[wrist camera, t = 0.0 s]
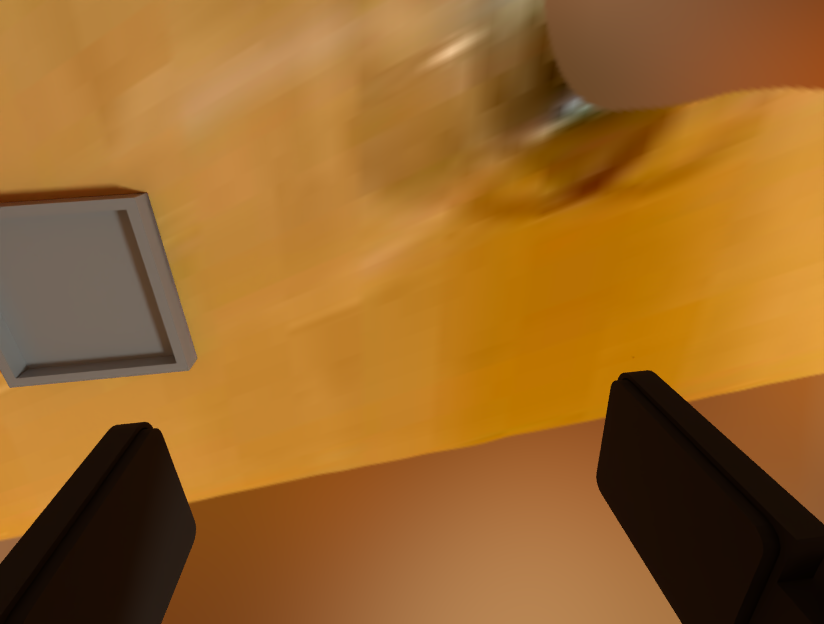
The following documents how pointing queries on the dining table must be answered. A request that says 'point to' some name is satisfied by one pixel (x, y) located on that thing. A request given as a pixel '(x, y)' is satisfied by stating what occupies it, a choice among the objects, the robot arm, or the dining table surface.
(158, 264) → the tray
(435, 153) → the dining table surface
